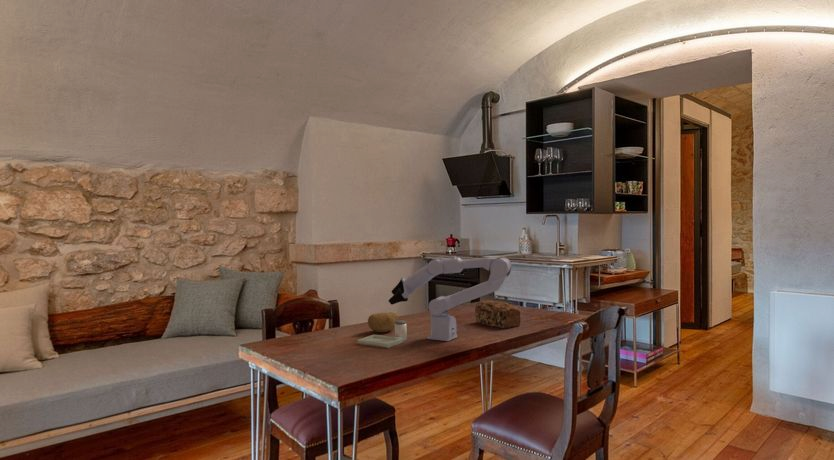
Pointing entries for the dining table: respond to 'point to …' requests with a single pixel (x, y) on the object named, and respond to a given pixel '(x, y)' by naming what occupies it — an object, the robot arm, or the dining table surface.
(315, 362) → the dining table surface
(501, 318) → the bread
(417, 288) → the robot arm
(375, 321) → the potato
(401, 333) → the shaker
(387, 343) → the tray
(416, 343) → the dining table surface
